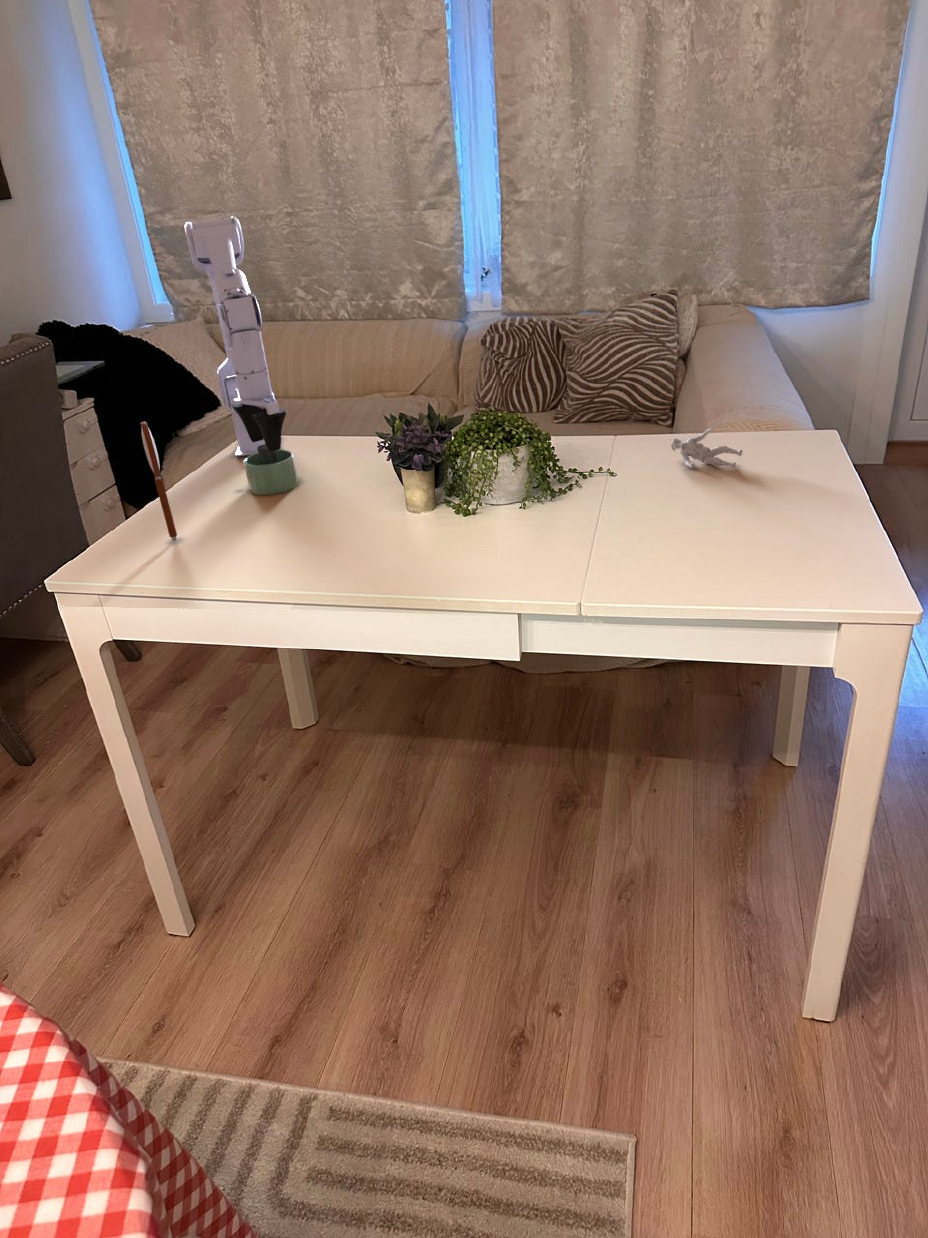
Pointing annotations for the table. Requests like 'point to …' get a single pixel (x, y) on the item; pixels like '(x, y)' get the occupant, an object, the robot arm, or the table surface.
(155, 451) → the magnifying glass
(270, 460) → the brush
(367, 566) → the table surface
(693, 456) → the soldier figure
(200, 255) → the robot arm
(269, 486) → the cup
